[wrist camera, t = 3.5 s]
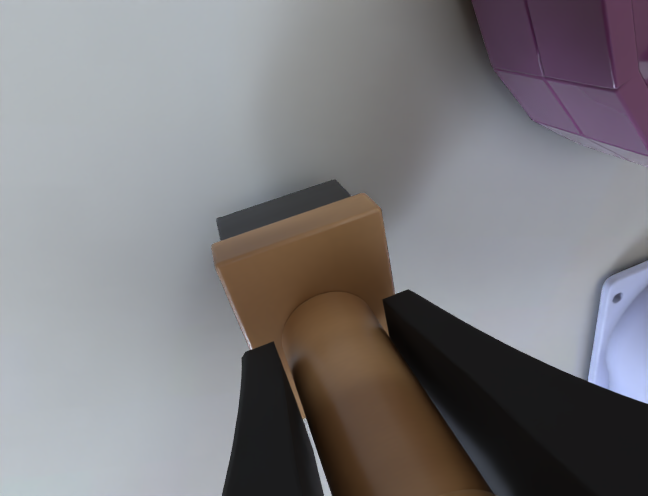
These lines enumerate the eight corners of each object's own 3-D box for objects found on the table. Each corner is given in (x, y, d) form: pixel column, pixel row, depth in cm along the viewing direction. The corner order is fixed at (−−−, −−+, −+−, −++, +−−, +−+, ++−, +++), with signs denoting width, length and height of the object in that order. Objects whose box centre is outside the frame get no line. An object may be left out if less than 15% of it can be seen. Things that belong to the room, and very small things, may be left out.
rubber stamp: (372, 319, 14) (654, 750, 6) (264, 360, 13) (410, 899, 5) (341, 168, 11) (787, 583, 3) (204, 213, 11) (315, 853, 3)
